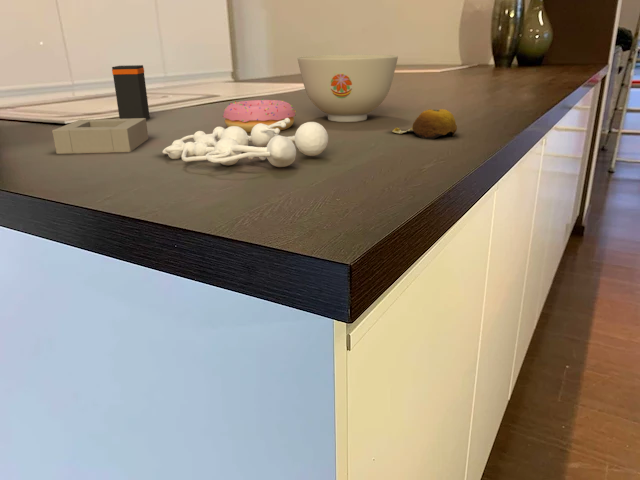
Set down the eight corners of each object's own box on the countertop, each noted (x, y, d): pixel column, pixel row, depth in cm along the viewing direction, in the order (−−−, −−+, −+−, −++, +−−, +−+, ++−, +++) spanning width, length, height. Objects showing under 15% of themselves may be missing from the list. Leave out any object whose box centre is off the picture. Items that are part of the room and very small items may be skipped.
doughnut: (209, 130, 82) (206, 102, 80) (261, 121, 89) (260, 95, 88) (259, 137, 75) (257, 107, 73) (310, 127, 83) (310, 99, 81)
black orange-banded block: (119, 123, 90) (111, 66, 87) (126, 119, 94) (119, 65, 91) (144, 122, 90) (136, 66, 87) (150, 119, 94) (143, 65, 91)
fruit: (438, 128, 80) (439, 103, 78) (472, 137, 72) (475, 110, 71) (388, 133, 77) (389, 107, 76) (419, 143, 70) (421, 114, 68)
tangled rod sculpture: (130, 172, 62) (122, 137, 60) (216, 141, 72) (211, 110, 71) (262, 190, 51) (257, 148, 50) (339, 151, 62) (337, 115, 61)
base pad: (56, 154, 66) (51, 130, 65) (83, 141, 75) (79, 119, 74) (130, 153, 67) (127, 128, 66) (148, 139, 75) (145, 118, 74)
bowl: (410, 116, 92) (413, 54, 88) (369, 130, 79) (370, 59, 76) (330, 111, 100) (329, 54, 96) (280, 123, 87) (277, 58, 83)
